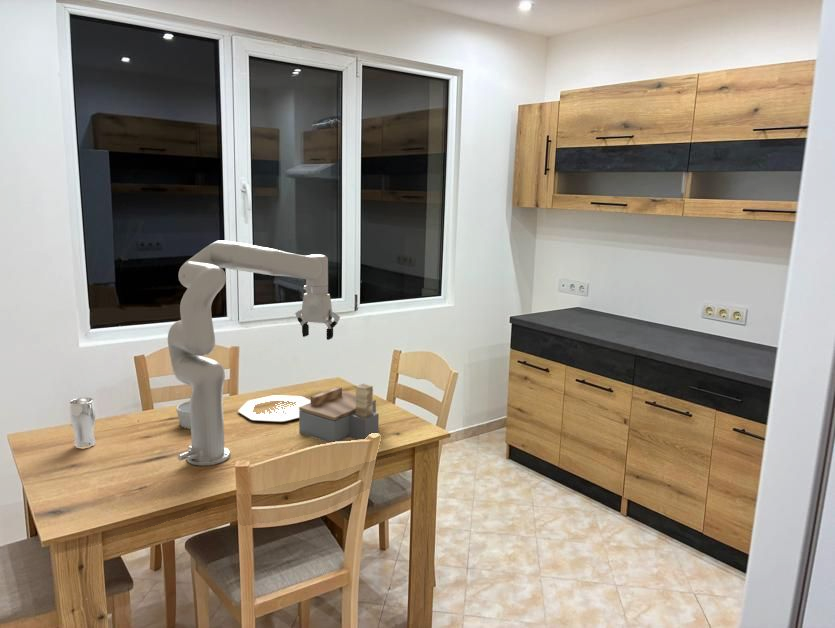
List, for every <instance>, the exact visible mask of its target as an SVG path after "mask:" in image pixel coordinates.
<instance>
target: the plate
mask: <svg viewBox="0 0 835 628" xmlns="http://www.w3.org/2000/svg"><path fill="white" fill-rule="evenodd" d="M270 401H284V402H287V401H289V402H293V403H294V402H296V403H295V404H296V405H295V404H293V405H294V406H293V405H290V404H292V403H290V404H287V405H289V406H287V405H284V404H286V403H284V404H280V403H282V402H280V403H278V404H280V405H277V404H275V405H277V406H276V408H278V409H279V410H278V409H275V408H274V407H273V408H274V409H275V412H274V410H271V409H270V408H269V409H270V411H271V412H272V413H270V414H269V411H268V412H267V410H265V414H264V413H262V412H261V413H260V414H256V412H253V410H254V407H255V405H257V404H260V403H265V402H270ZM287 403H288V402H287ZM309 403H311V399H309V398H308V397H307V398H306V397H305V396H301V395H286V394H285V395H284V394H283V395H282V394H272V395H268V396H263V397H259V398H254V399H249V400H247V401H246V402H245V403H244V404H243V405H242V406H241V407H240V408H239V409H238V410H237V412H238V413H239V414H240V415H242V416H243V417H245V418H246V419H247V420H250V421H252V422H264V423H265V422H266V423H286V422H291V421H295V420H299V411H300V410H299V407H301V406H304V405H306V404H309ZM281 405H284V406H287V407H284V406H281ZM278 406H280V407H278ZM290 406H291V407H290ZM281 407H283V409H282V408H281ZM284 408H285V409H284ZM283 411H284V413H283ZM276 412H277V413H276ZM285 413H286V414H285Z"/></svg>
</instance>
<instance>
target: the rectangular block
mask: <svg viewBox="0 0 835 628" xmlns="http://www.w3.org/2000/svg"><path fill="white" fill-rule="evenodd" d="M373 392H374V387H373V385H371V384H366V383H362V384H361V383H360V384H359V385H357V386H355V395H356V416H359V417H363V418H367V417H369V416H371V415H372V407H373V399H374V398H373V397H374V396H373V395H374V393H373Z"/></svg>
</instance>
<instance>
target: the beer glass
mask: <svg viewBox="0 0 835 628" xmlns="http://www.w3.org/2000/svg"><path fill="white" fill-rule="evenodd" d="M69 418H70V423H71V426H72V430H73V434H74V445H75V446H76V447H89V446H92V445H94V444H95V443H96V444H97V442H96V441H97V440H96V439H95V424H96V423H95V422H96V409H95V402H94V399H93V398H92V397H87V396H86V397H78V398H73V399H72V400H70V401H69Z"/></svg>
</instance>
